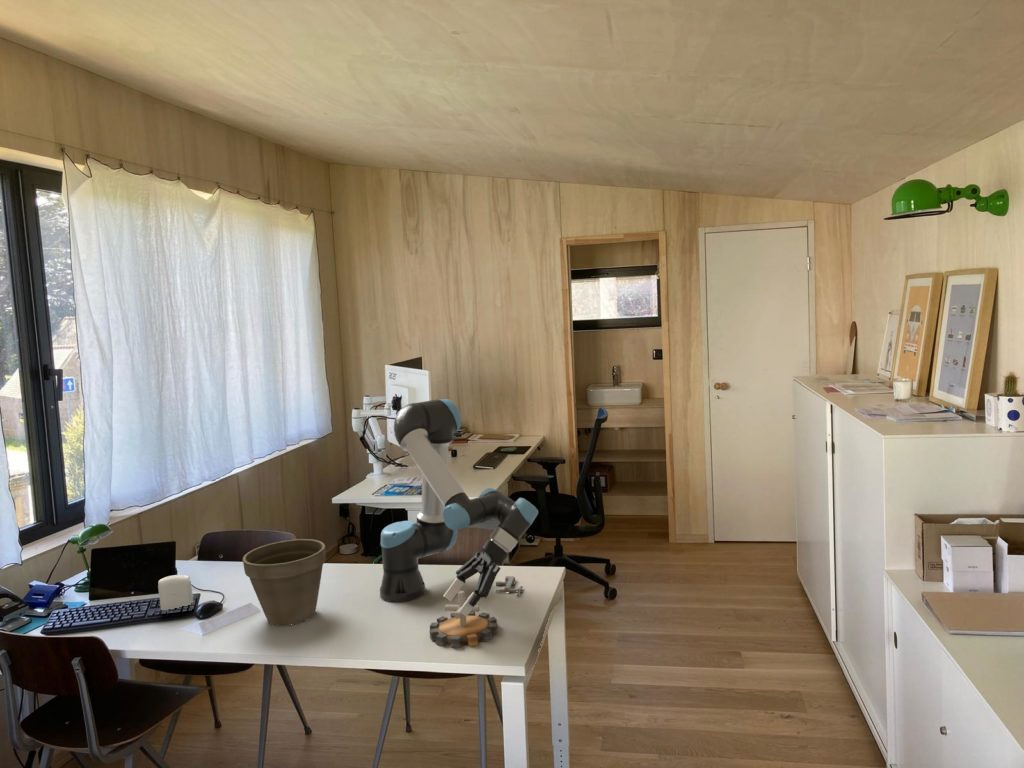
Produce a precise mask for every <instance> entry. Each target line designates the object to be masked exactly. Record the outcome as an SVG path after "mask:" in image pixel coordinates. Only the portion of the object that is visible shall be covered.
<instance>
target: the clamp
mask: <svg viewBox="0 0 1024 768" xmlns="http://www.w3.org/2000/svg"><path fill="white" fill-rule="evenodd" d="M504 580H505V581H497V580H496V581H495V586H496V587H497V586H498V587H499V586H505V587H504V589H501V588H500V589H496V590H495V592H499V593H500V592H502V593H504V592H509V593H514V592H516V591H518V592H517V594H516V596H517V597H520V596H521V593H523V589H522V588H524V586H523V585H521V586H520V587H519V588H513V589H512V588H511V587H512V586H515V583H516V577H515V576H514V575H513V576H510V575H509V576H508V575H507V576H505V577H504ZM514 582H515V583H514ZM511 585H512V586H511Z"/></svg>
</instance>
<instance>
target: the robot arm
mask: <svg viewBox="0 0 1024 768" xmlns="http://www.w3.org/2000/svg"><path fill="white" fill-rule="evenodd" d="M461 426H462V417H461V412H460V410H459V408H458V406H457V405H456V404H455V403H454V401H452V400H451V399H448V398H441V399H439V398H437V399H431V400H426V401H420V402H411V403H408V404H406V405H404V406H403V407H402V408H401V409H400V410H399V411H398V413H397V414H396V416H395V419H394V422H393V433H394V437H395V440H396V441H397V444H398V445H399V447H400V448H401V449H402V451H405V452H407V453H408V454H409V456H410V457H411V459H412V461H413V462H414V463H415V465H416V466H417V468H418V469H419V471H420V473H421V474H422V476H421V508H420V509H421V510H420V511H419V512H417V514H416V523H415V522H414V521H411V520H402V521H396V522H393V523H390V524H388V525H387V526H385V527H383V529H382V530H381V533H380V546H381V557H382V569H383V575H382V579H381V584H380V587H379V596H380V598H381V600H383V599H384V601H386V600H388V601H387V602H394V601H397V602H407V601H411V600H416V599H418V598H420V597H422V596H423V595H424V594H425V593H426V591H427V590H426V583H425V581H424V578H423V576H422V574H421V571H420V569H419V559H421V558H425V557H427V556H428V557H429V556H431V555H435V554H438V553H444V551H447V550H449V549H451V548H452V547H453V546H454V545H455V543H456V541H457V538H458V530H462V529H463V530H464V529H466V528H468V527H472V526H474V525H477V524H478V525H479V524H482V523H485V522H489V521H492V520H493V521H494V520H496V521H498V522H499V524H498V525H497V526H496V528H495V529H494V530H493V532H492V533H491V534H490V535H489V538H490V539H487V540H486V541H485V543H484V544H483V546H482V547H481V551H483V553H481V552H480V551H476V553H475V554H474V555H473V556H472V557H471V558H470V559H469V560H468V561H467V562H465V563H464V564H463V565H462V566H461V567H460V568H459V569H458V570H456V571H455V575H456V578H455V580H453V582H452V583H451V585H450V586H449V588H448V589H447V590H446V591H445V593H444V594H443V598H445V599H446V600H448V601H449V602H452V600H453V599H454V598H455V596H456V595H458V591H460V590H461V588H462V587H463V585H464V584H465V583H466V581H467V580H468V579H470V578H471V577H473V576H474V575H476V574H477V573H479V577H478V580H477V584H476V587H475V589H474V590H473V591H472V593H470V595H469V596H468V598H466V599H467V600H466V602H465V603H464V604H463V606H462V607H461V609H460V610H459V612H460V613H462V614H463V615H464V616H466V617H467V616H468V614H469V613H470V612H471V610H472V609H473V607H474V606H475V605H476V604H478V602H479V601H480V599H482V598H484V599H487V598H488V596H489V594H490V591H491V589H492V587H493V584H494V582H495V580H496V577H497V575H498V573H500V570H501V567H500V566H499V565H497V563H498V564H501V565H502V564H503V563H504V561H506V559H507V558H508V556H509V553H511V552H512V550H513V549H514V548H515V547H516V546H517V544H518V542H519V541H520V539H521V538H522V537H523V535H524V534H525V533H526V532H527V530H528V529H529V528H530V526H531V525H532V524H534V523H533V522H534V521H535V519H536V518H537V516H538V515H539V510H538V508H537V507H536V506H535V505H534V504H532V503H531V502H530V501H528V500H527V499H526V498H523V497H519V498H518V499H517V500H513V499H512V498H510V497H509V496H507V495H505V494H504V493H503V492H501V491H499V490H497V489H495V488H491V487H489V488H485V489H484V490H483V491H481V492H480V494H479V496H478V497H475V498H472V499H471V498H470V497H469V495H467V494H466V492H465V490H464V489H463V488H462V486H461V485H460V483H459V481H458V480H457V479H456V478H455V477H456V476H454V474H453V473H452V472H451V470H450V469H449V446H450V444H451V443H452V442H454V433H457V432H458V431H459V430H460V428H461Z"/></svg>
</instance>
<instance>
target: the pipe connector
mask: <svg viewBox="0 0 1024 768" xmlns="http://www.w3.org/2000/svg"><path fill="white" fill-rule="evenodd" d="M465 596H466V595H465V591H464V590H459V591H458V592H457V598H458V599H457V601H458V604H445V605H444V611H445V612H454V613H455V614H454V617H455V618H456V619H459V618H460V626H466V625H467V623H466V616H464V615H463V614H462V613H460V612H459V610H460V609H461V607H462V606H463V604H464V603H465V602H466V600H467V599H468V598H465ZM480 611H481V610H480V605H475V606H474V607H473V609H472V610H471V612H475V613H480Z"/></svg>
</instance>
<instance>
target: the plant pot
mask: <svg viewBox="0 0 1024 768" xmlns="http://www.w3.org/2000/svg"><path fill="white" fill-rule="evenodd" d="M326 553H327V552H326V544H325V543H324V542H322V541H320V540H318V539H311V538H309V539H308V538H307V539H306V538H300V539H299V538H298V539H290V540H282V541H278V542H272V543H267V544H265V545H261V546H259V547H256V548H254V549H252V550H249V552H247V553H246V554H244V556H243V557H242V564H243V565H242V566H243V570H244V574H245V575H246V577H248V578H249V580H250V584H251V585H252V587H253V590H254V593H255V594H256V597H257V599H258V600H257V601H258V602H259V604H260V607H261V609H262V611H263V613H264V617H265V618H266V620H267V622H268V623H269V624H270V625H272V626H277V625H279V626H278V627H285V626H284V625H287V626H292V625H291V624H294V625H297V624H296V623H298V624H300V623H299V622H301V623H303V622H302V621H304V622H306V621H308V620H310V619H311V618H313V617H314V615H316V610H317V605H318V598H319V592H320V586H321V580H322V572H323V565H324V564H325V562H326V560H327V558H326V555H327V554H326ZM312 616H313V617H312ZM309 618H310V619H309ZM307 619H308V620H307ZM305 620H306V621H305Z"/></svg>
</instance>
